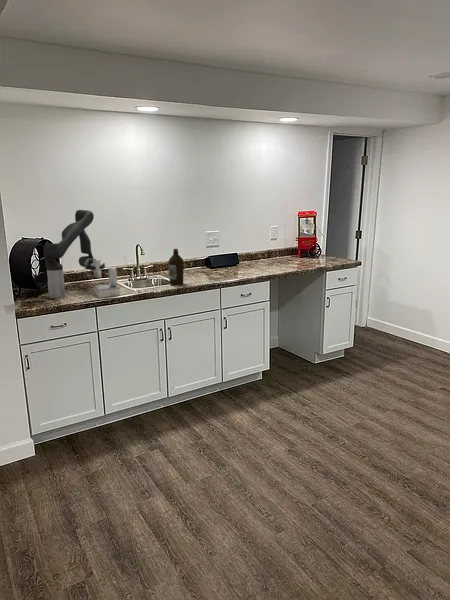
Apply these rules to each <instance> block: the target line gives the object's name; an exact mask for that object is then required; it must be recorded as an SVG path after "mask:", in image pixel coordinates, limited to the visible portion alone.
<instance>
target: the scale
mask: <svg viewBox="0 0 450 600" xmlns="http://www.w3.org/2000/svg"><path fill="white" fill-rule="evenodd" d="M93 287H94V288H93V289H94V294H95V295H96V296H97V297H98V298H104V297H116V296H120V295H121V292H120V291H121V290H120V286H118V285H117V287H115V288H111V287H110V283H109V284H100V285H94V286H93Z"/></svg>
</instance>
